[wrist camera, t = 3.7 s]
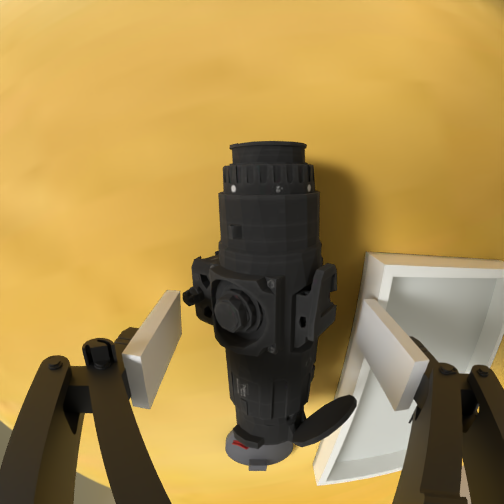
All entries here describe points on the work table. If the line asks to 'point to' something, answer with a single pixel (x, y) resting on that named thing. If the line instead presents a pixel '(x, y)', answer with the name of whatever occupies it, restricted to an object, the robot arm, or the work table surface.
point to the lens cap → (257, 454)
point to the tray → (423, 329)
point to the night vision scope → (270, 295)
